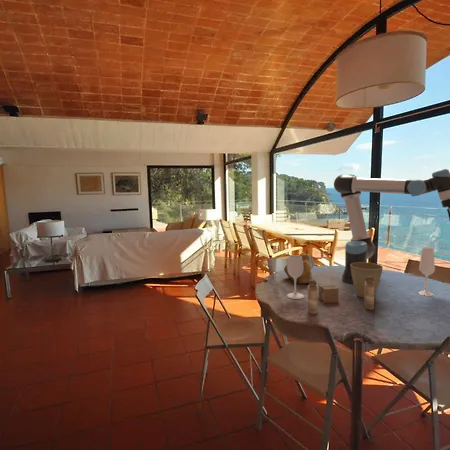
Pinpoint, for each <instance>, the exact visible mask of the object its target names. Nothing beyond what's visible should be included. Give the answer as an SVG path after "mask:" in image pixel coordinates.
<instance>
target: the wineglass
mask: <svg viewBox="0 0 450 450" xmlns="http://www.w3.org/2000/svg"><path fill="white" fill-rule="evenodd" d="M286 265H287V271H288V273H289V275H290V276H292V277H293V278H294V281H293V283H294V286H293V292H290V293H288V294H286V297H287V298H288V299H292V300H301V299H303V298H305V295H304V294H302V293H299V292H297V283H296V280H297V278H298V277H299V276H301V275H302V273H303V260H302V257H301V256H299V255H288V258H287V262H286Z"/></svg>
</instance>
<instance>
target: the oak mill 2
mask: <svg viewBox="0 0 450 450" xmlns="http://www.w3.org/2000/svg"><path fill="white" fill-rule="evenodd" d="M374 285H375V283H374V279H373V277H371V276H368V277H366V281H365V295H364V298H363V299H364V300H363V301H364V303H363V305H364V307H363V308H364V310H365V309H366V310H369V311H370V310H374V309H375V294H374Z"/></svg>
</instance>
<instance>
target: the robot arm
mask: <svg viewBox="0 0 450 450" xmlns="http://www.w3.org/2000/svg"><path fill="white" fill-rule="evenodd" d="M333 188H334V189H335V191H336V192H337V193H340V197H341V200H342V199H343V200H344V203H345V208H346V213H347V216H348V222H349V225H350V226H349V227H350V231H351V235H352V237H351V239H350V241H347V242H346V243H345V247H344V250H345V253H344V254H345V257H344V259H345V264H344V265H345V266H344V270H343V272H342V275H341V280H342V282H344V283H346V284H347V283H348V284H351V285H354V283H353V279H352V274H351V267H350V264H351V263H355V262H367V263H368V260H369V259H371V258H372V257H373V256H374V254H375V253H376V245H375V243H373V241H372V236H370V235H369V234H368V232H367V230H368V229H367V228H366V222H365V218H364V217H365V216H364V213H363V209H362V205H361V200H360V196H361V194H362V192H363V193H364V192H367V193H381V194H401V195H410V196H411V197H417V196H421V195H424V194H428V193H431V192H436V191H437V194H438V197H439V200H440V201H441V202H440V203H441V205H442V208H447V209H446V211H447V215H448V218H449V221H450V170H449V169H447V168H444V169H441V170H437V171H434V172H432V173H431V176H430V177H429V178H424V179H401V178H400V179H399V178H398V179H397V178H396V179H395V178H371V177H369V178H368V177H358V176H357V175H354V174H347V173H346V174H345V173H344V174H340V175H338V176H337V177H336V178H335V179H334V180H333Z"/></svg>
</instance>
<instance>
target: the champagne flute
mask: <svg viewBox="0 0 450 450" xmlns="http://www.w3.org/2000/svg"><path fill="white" fill-rule="evenodd" d="M435 264H436V263H435V251H434V247H432V246H422V247H421V254H420V259H419V266H418V269H419V272H421V274H422V275H424V290H421V291H418V292H417V294H418V293H419V294H418V295H421V296H424V295H425V296H424V297H433V296H434V294H433V293H432V292H430V291H429V290H428V284H429V283H428V282H429V280H428V279H429V276H431V275H433V273H434V272H435V270H436V265H435ZM432 295H433V296H432Z"/></svg>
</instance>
